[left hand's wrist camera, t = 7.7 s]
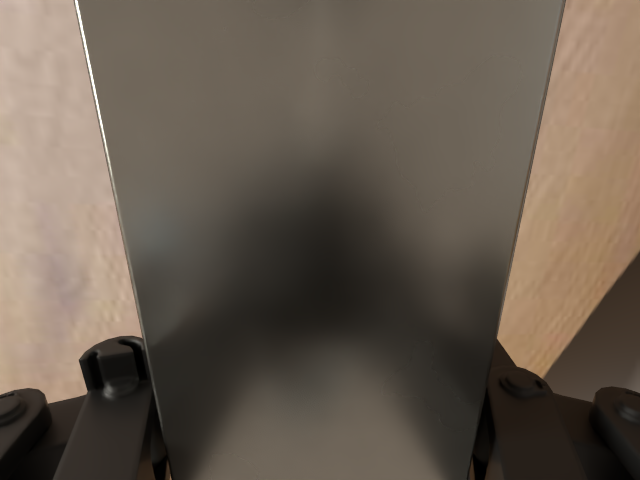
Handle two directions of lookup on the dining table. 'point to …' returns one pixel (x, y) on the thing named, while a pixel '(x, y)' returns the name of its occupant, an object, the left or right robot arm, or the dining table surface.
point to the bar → (319, 220)
